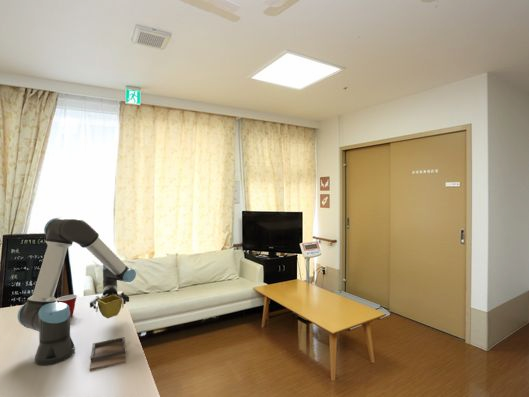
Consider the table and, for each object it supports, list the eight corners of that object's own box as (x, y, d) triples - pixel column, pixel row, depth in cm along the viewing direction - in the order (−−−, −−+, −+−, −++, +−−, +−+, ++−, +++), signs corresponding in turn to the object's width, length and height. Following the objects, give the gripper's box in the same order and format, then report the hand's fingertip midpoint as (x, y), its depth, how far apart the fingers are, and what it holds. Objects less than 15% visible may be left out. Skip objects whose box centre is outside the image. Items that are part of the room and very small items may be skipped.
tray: (125, 362, 133) (125, 357, 133) (89, 371, 127) (89, 365, 127) (124, 341, 151) (124, 337, 151) (92, 348, 145) (92, 343, 145)
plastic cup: (73, 311, 188) (73, 292, 188) (80, 315, 181) (80, 296, 181) (53, 316, 180) (53, 297, 179) (59, 321, 173) (59, 301, 173)
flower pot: (105, 321, 148) (105, 303, 147) (97, 316, 153) (97, 299, 152) (122, 315, 155) (122, 298, 154) (114, 311, 160) (114, 294, 159)
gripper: (132, 296, 175) (135, 310, 155) (86, 303, 164) (82, 319, 145) (132, 284, 175) (135, 296, 155) (86, 290, 164) (82, 303, 144)
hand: (110, 307), depth 150 cm, fingers closed on flower pot, 11 cm apart
